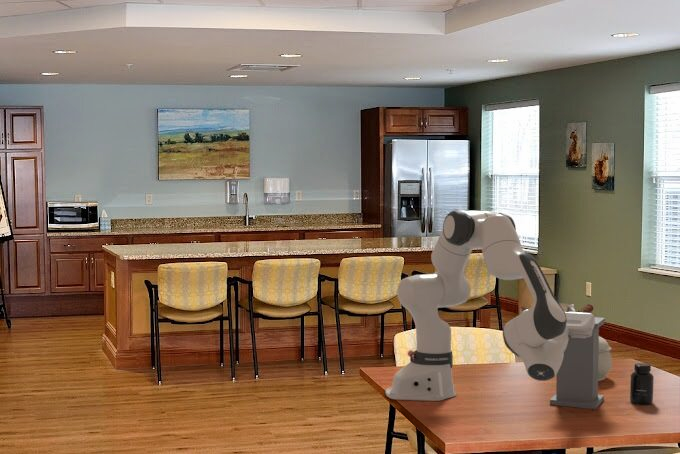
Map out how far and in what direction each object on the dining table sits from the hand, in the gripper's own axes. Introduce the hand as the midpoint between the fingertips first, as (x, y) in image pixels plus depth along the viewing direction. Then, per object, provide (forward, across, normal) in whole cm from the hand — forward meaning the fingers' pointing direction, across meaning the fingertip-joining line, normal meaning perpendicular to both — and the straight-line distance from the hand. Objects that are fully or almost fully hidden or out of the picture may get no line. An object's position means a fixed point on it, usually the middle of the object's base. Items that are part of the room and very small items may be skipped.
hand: (562, 305), depth 282 cm
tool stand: (+4, 0, +41) cm, 41 cm away
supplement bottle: (+11, -18, +45) cm, 50 cm away
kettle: (+38, +4, +60) cm, 72 cm away
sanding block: (+2, 0, +8) cm, 8 cm away
